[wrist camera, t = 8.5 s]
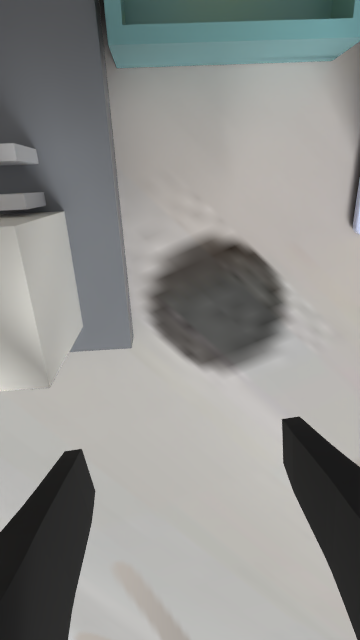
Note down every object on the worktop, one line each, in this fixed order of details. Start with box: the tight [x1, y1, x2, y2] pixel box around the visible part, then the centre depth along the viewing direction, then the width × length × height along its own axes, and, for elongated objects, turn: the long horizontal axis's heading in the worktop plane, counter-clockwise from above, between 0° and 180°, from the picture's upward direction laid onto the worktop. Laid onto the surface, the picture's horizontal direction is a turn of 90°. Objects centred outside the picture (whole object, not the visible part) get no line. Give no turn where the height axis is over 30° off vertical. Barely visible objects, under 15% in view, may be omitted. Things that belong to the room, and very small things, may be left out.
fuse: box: [0, 211, 83, 391], centre depth 15 cm, size 4×6×6 cm, turn 3°
